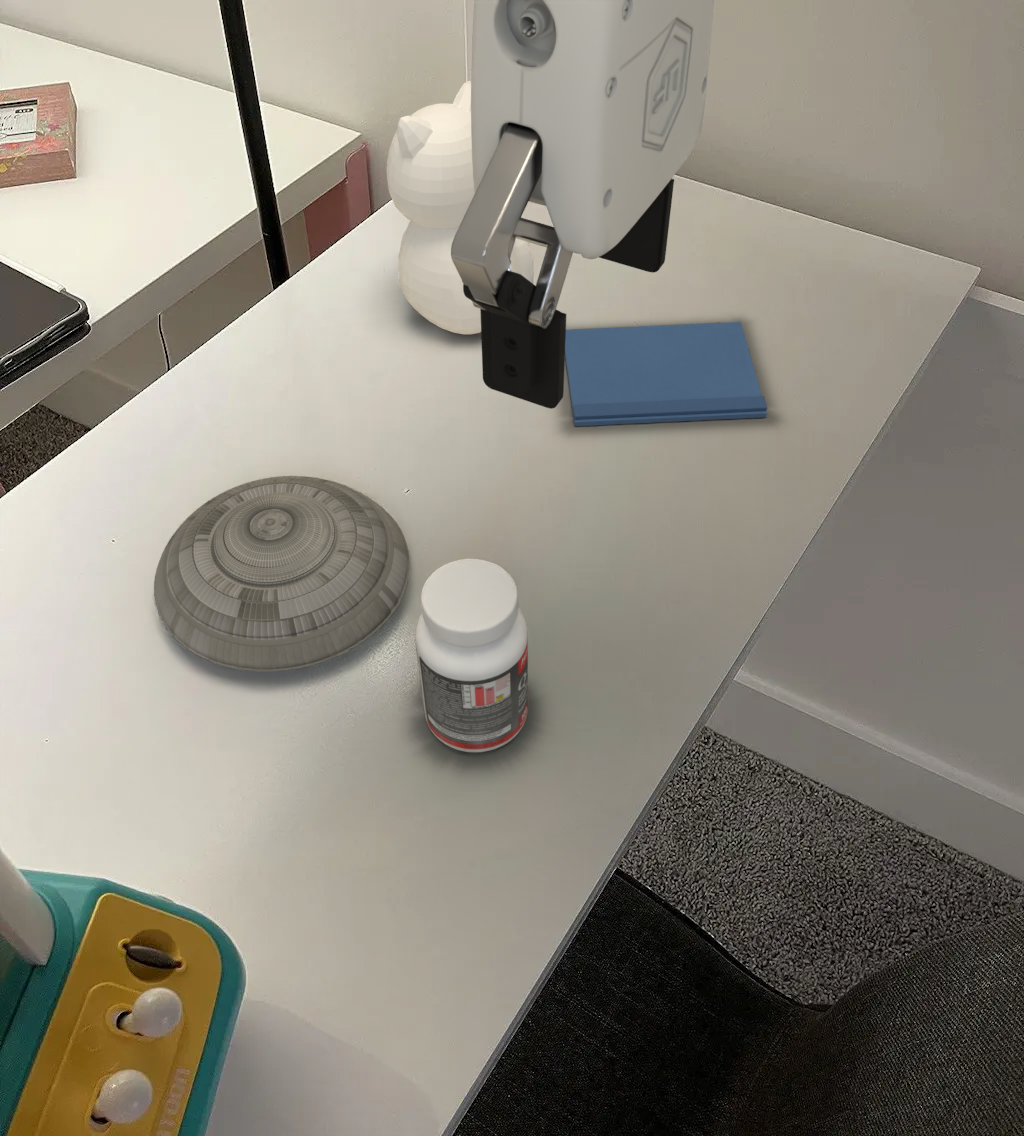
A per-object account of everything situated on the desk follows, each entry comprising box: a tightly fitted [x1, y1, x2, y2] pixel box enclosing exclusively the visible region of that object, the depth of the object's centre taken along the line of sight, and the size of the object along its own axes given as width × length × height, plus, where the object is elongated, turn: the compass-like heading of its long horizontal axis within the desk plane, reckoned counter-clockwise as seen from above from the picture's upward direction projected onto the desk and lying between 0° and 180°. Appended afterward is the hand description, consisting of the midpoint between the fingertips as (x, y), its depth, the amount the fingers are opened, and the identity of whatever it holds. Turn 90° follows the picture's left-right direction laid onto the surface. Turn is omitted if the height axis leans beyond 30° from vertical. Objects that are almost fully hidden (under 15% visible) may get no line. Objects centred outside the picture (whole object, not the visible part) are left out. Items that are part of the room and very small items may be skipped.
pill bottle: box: [414, 558, 529, 753], centre depth 58 cm, size 6×6×10 cm
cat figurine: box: [386, 80, 535, 335], centre depth 77 cm, size 9×12×15 cm
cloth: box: [565, 321, 768, 427], centre depth 79 cm, size 13×10×1 cm
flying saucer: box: [153, 475, 411, 672], centre depth 66 cm, size 15×15×6 cm
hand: (577, 324), depth 46 cm, fingers open, 9 cm apart
